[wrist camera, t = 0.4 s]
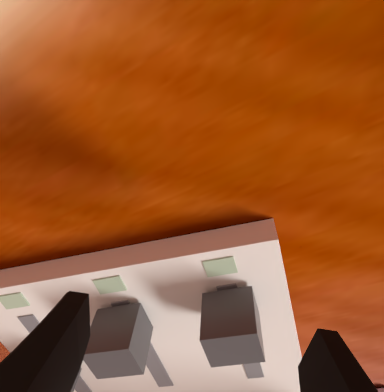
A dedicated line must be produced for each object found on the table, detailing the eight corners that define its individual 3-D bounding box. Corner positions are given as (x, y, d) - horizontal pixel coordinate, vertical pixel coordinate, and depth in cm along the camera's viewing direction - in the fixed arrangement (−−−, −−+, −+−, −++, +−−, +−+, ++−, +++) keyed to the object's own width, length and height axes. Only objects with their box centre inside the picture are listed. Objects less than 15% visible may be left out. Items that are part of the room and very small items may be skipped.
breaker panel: (303, 367, 27) (309, 394, 25) (72, 390, 31) (63, 414, 29) (273, 218, 20) (278, 240, 18) (-22, 274, 24) (-42, 296, 22)
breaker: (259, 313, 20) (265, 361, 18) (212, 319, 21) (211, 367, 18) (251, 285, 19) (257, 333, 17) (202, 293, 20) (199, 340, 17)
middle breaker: (153, 327, 22) (143, 374, 19) (112, 332, 22) (97, 379, 20) (140, 302, 21) (128, 348, 18) (97, 308, 21) (79, 355, 19)
